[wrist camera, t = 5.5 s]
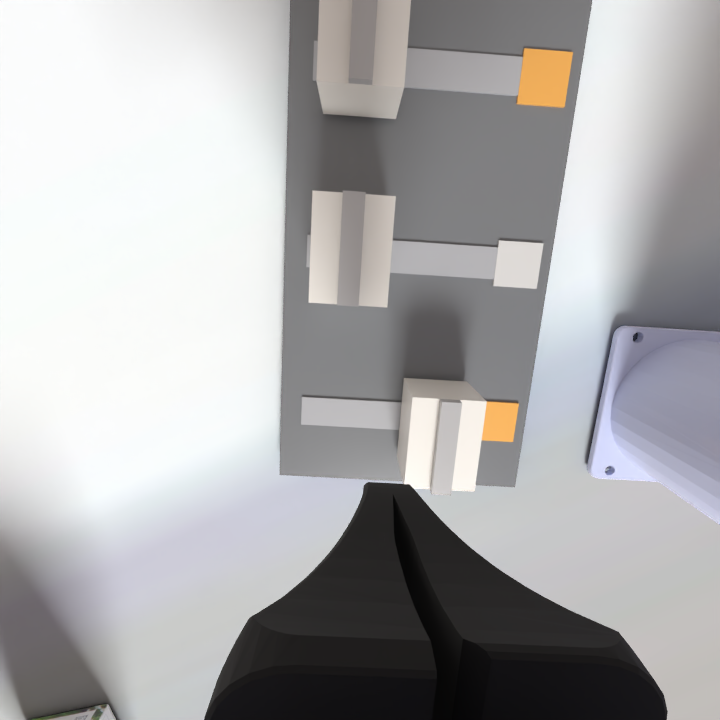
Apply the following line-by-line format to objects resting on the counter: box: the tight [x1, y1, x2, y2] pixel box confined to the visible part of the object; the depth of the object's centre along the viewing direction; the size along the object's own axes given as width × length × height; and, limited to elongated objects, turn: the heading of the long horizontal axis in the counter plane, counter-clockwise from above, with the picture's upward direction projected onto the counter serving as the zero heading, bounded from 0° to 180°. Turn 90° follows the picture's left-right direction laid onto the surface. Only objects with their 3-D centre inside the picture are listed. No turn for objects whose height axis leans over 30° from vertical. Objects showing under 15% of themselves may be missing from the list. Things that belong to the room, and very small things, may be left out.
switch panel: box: [280, 0, 592, 487], centre depth 19 cm, size 12×22×1 cm, turn 176°
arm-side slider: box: [397, 378, 487, 495], centre depth 18 cm, size 3×4×3 cm
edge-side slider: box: [316, 0, 411, 119], centre depth 15 cm, size 3×4×3 cm
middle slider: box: [308, 190, 396, 308], centre depth 16 cm, size 3×4×3 cm
